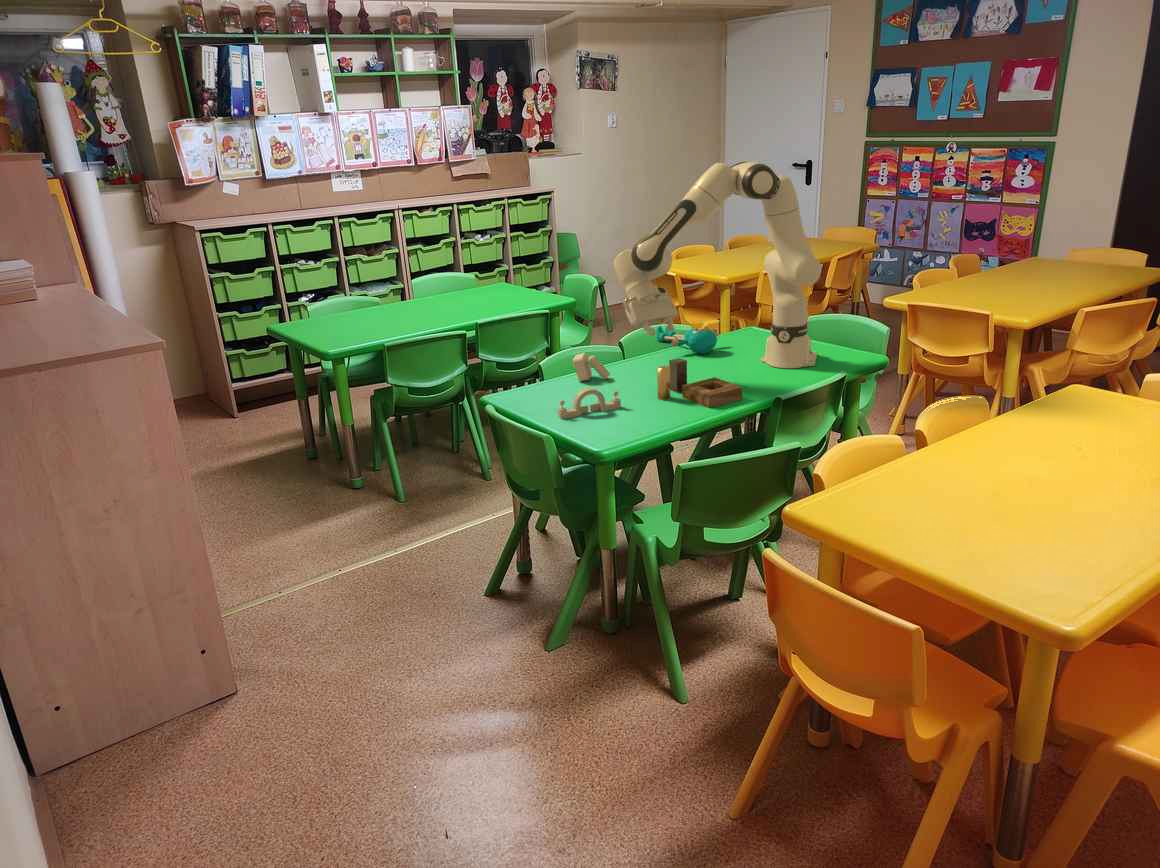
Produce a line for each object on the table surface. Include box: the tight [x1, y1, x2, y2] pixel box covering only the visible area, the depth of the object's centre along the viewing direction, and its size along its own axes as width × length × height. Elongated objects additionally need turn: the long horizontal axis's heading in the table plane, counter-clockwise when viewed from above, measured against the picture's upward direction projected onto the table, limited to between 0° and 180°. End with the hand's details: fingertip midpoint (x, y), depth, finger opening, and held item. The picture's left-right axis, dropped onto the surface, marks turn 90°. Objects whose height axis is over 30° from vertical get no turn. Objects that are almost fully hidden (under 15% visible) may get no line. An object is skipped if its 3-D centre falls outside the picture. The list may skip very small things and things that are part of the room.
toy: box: [655, 324, 720, 355], centre depth 308 cm, size 22×10×30 cm
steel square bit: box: [668, 357, 688, 394], centre depth 259 cm, size 4×4×10 cm
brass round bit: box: [656, 365, 671, 401], centre depth 252 cm, size 4×4×10 cm
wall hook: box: [572, 352, 611, 383], centre depth 275 cm, size 8×10×10 cm
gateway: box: [557, 387, 622, 420], centre depth 244 cm, size 20×2×8 cm, turn 112°
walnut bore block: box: [681, 376, 743, 409], centre depth 251 cm, size 13×13×4 cm
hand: (662, 332), depth 261 cm, fingers open, 8 cm apart
